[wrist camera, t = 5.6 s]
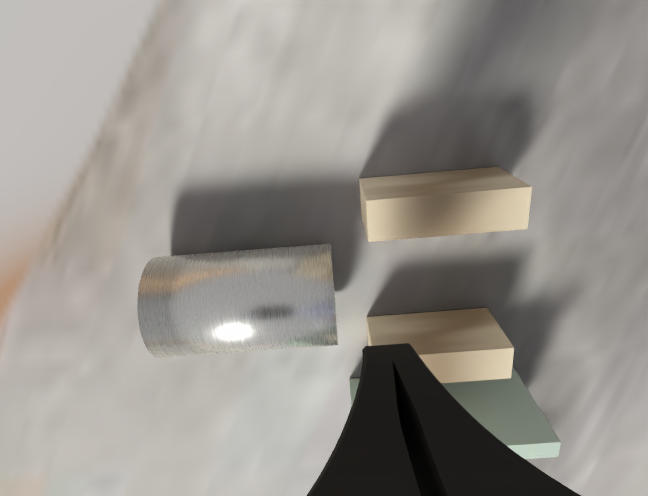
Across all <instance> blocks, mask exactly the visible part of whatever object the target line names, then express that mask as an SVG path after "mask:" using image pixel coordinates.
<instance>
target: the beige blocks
mask: <svg viewBox="0 0 648 496" xmlns="http://www.w3.org/2000/svg"><path fill="white" fill-rule="evenodd" d="M359 188H360V206H361V216H362V220H363V224H364V228H365V231H366V235H367V239H368V242H374V241H386V240H398V239H410V238H423V237H435V236H447V235H459V234H471V233H484V232H496V231H508V230H520V229H527V228H528V219H529V210H530V200H531V191H532V186H530V185H528V184H526V183H525V182H523V181H521V180H520V179H518V178H516V177H515V176H513V175H511V174H509V173H508V172H506V171H504V170H503V169H501V168H499V167H488V168H476V169H464V170H453V171H441V172H430V173H418V174H406V175H395V176H383V177H372V178H360V179H359ZM367 334H368V346H375V345H389V344H403V343H409V344H410V345H411V346H412V347H413V348H414V350H415V351H416V352H417V354H418V355H419V357H420V358H421V359H422V361H423V362H424V363H425V365H426V366H427V367H428V368H429V370H430V371H431V372H432V373H433V375H434V376H435V377H436V378H437V379H438V380H439V382H440V383H453V382H467V381H480V380H494V379H508V378H511V374H512V365H513V356H514V347H513V345H512V344H511V342H510V341H509V339H508V338H507V336H506V335H505V333H504V332H503V330H502V329H501V327H500V326H499V325H498V323H497V322H496V320H495V319H494V317H493V316H492V314H491V313H490V311H489V310H488V308H477V309H464V310H451V311H438V312H425V313H412V314H399V315H386V316H373V317H367Z"/></svg>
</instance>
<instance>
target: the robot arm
mask: <svg viewBox="0 0 648 496" xmlns="http://www.w3.org/2000/svg"><path fill="white" fill-rule="evenodd" d="M307 496H581V495H579V494H577V493H575V492H574V491H572V490H570V489H569V488H567V487H566V486H564V485H562V484H561V483H559V482H558V481H556V480H554V479H553V478H551V477H550V476H548V475H547V474H545V473H544V472H542V471H541V470H539V469H538V468H536V467H535V466H534V465H532V464H531V463H529V462H528V461H527V460H525V459H524V458H522V457H521V456H520V455H518V454H517V453H515V452H514V451H513V450H511V449H510V448H509V447H508V446H506V445H505V444H504V443H503V442H501V441H500V440H499V439H498V438H496V437H495V436H494V435H493V434H492V433H491V432H489V431H488V430H487V429H486V428H485V427H484V426H482V425H481V424H480V423H479V422H478V421H477V420H476V419H475V418H474V417H473V416H472V415H471V414H470V413H469V412H468V411H467V410H466V409H465V408H464V407H463V406H462V405H461V404H460V403H459V402H458V401H457V400H456V399H455V398H454V397H453V396H452V395H451V394H450V393H449V392H448V391H447V389H446V388H445V387H444V386H443V385H442V384H441V383H440V382H439V380H438V379H437V378H436V377H435V376H434V375H433V373H432V372H431V371H430V370H429V368H428V367H427V366H426V365H425V363H424V362H423V361H422V359H421V358H420V357H419V355H418V354H417V352H416V351H415V350H414V348H413V347H412V346H411V345H410V344H409V343H403V344H389V345H375V346H366V347H365V348H364V349H363V364H362V370H361V376H360V380H359V384H358V388H357V392H356V395H355V399H354V402H353V405H352V407H351V410H350V413H349V416H348V419H347V421H346V424H345V426H344V429H343V431H342V433H341V436H340V438H339V440H338V442H337V444H336V446H335V448H334V450H333V452H332V454H331V456H330V458H329V460H328V462H327V463H326V465H325V467H324V469H323V471H322V472H321V474H320V476H319V477H318V479H317V481H316V482H315V484H314V485H313V487H312V488H311V490H310V491H309V493H308V494H307Z"/></svg>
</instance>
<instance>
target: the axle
mask: <svg viewBox="0 0 648 496" xmlns="http://www.w3.org/2000/svg"><path fill="white" fill-rule="evenodd" d="M138 320H139V326H140V331H141V335H142V338H143V341H144V343H145V345H146V347H147V349H148V350H149V352H150V353H151V354H152V355H153V356H155V357H159V358H161V357H175V356H189V355H204V354H218V353H232V352H246V351H261V350H275V349H289V348H304V347H318V346H332V345H338V336H337V321H336V306H335V293H334V280H333V268H332V255H331V245H330V244H321V245H307V246H294V247H281V248H268V249H255V250H242V251H229V252H216V253H202V254H189V255H176V256H163V257H155V258H153V259H151V260H150V261H149V262H148V263H147V265H146V266H145V268H144V271H143V273H142V276H141V280H140V284H139V291H138Z"/></svg>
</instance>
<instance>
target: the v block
mask: <svg viewBox="0 0 648 496" xmlns="http://www.w3.org/2000/svg"><path fill="white" fill-rule="evenodd" d="M359 380H360V378H356V379H350V391H351V404H352V405H353V402H354V399H355V395H356V392H357V388H358V384H359ZM441 384H442V385H443V386H444V387H445V388H446V389H447V391H448V392H449V393H450V394H451V395H452V396H453V397H454V398H455V399H456V400H457V401H458V402H459V403H460V404H461V405H462V406H463V407H464V408H465V409H466V410H467V411H468V412H469V413H470V414H471V415H472V416H473V417H474V418H475V419H476V420H477V421H478V422H479V423H480V424H481V425H482V426H484V427H485V428H486V429H487V430H488V431H489V432H491V433H492V434H493V435H494V436H495V437H496V438H498V439H499V440H500V441H501V442H503V443H504V444H505V445H506V446H508V447H509V448H510V449H511V450H513V451H514V452H515V453H517V454H518V455H520V456H521V457H522V458H524V459H533V458H548V457H558V455H559V450H560V444H561V441H560V440H559V438H558V437H557V435H556V434H555V432H554V430H553V429H552V427H551V426H550V424H549V422H548V421H547V419H546V418H545V416H544V415H543V413H542V411H541V410H540V408H539V407H538V405H537V404H536V402H535V400H534V399H533V397H532V396H531V394H530V392H529V391H528V389H527V388H526V386H525V385H524V383H523V381H522V380H521V378H520V377H519V375H518V374H517V372H516V370H515V369H514V367H512V374H511V378H508V379H494V380H480V381H467V382H453V383H441Z"/></svg>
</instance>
